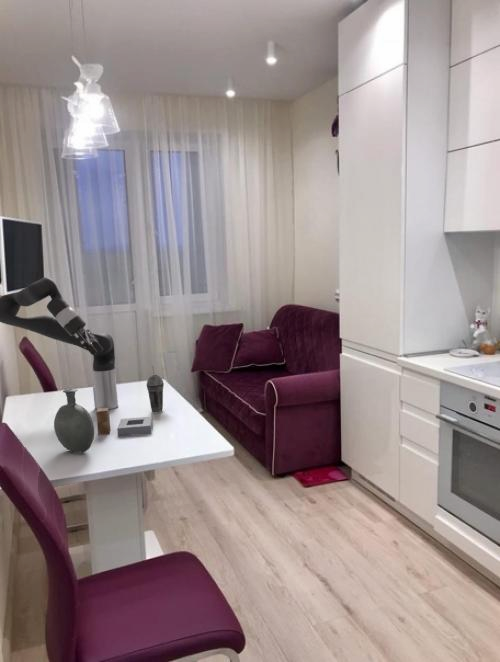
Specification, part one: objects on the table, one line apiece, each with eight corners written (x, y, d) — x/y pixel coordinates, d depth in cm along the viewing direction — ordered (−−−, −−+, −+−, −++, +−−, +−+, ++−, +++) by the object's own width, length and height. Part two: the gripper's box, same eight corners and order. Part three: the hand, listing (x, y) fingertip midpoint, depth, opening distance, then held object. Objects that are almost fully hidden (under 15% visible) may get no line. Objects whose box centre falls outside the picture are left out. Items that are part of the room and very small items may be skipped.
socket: (117, 436, 193) (117, 428, 193) (121, 426, 205) (121, 418, 204) (151, 433, 194) (150, 425, 194) (152, 423, 206) (152, 416, 206)
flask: (88, 442, 188) (82, 382, 185) (99, 456, 174) (93, 391, 171) (54, 449, 183) (47, 387, 180) (63, 464, 168) (56, 397, 165)
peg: (98, 434, 196) (96, 411, 195) (99, 431, 200) (97, 408, 199) (109, 434, 196) (107, 410, 195) (110, 430, 200) (108, 407, 199)
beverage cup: (167, 408, 227) (164, 363, 224) (163, 413, 220) (159, 366, 217) (151, 408, 228) (147, 363, 225) (146, 413, 221) (142, 367, 218)
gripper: (69, 326, 212) (96, 356, 213) (56, 328, 198) (85, 361, 199) (83, 314, 212) (110, 344, 212) (71, 315, 197) (100, 348, 198)
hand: (98, 352), depth 206 cm, fingers open, 8 cm apart
